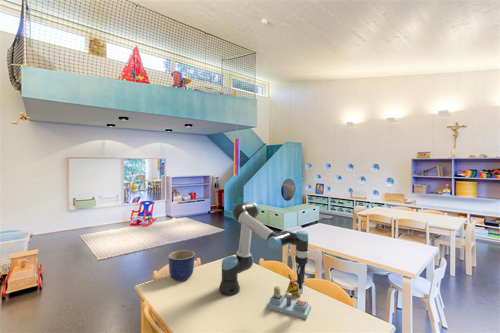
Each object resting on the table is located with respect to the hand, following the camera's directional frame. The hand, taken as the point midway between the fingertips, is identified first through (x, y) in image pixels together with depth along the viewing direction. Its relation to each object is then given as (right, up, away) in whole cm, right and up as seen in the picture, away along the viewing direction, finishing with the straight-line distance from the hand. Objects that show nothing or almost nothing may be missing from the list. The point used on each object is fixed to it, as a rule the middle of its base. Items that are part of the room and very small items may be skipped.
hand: (300, 293), depth 157 cm
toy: (0, -12, +22) cm, 25 cm away
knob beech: (-14, -7, +7) cm, 17 cm away
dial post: (-7, -9, +3) cm, 12 cm away
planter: (-88, -11, +45) cm, 99 cm away
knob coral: (0, -12, 0) cm, 11 cm away
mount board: (-7, -12, +3) cm, 14 cm away
